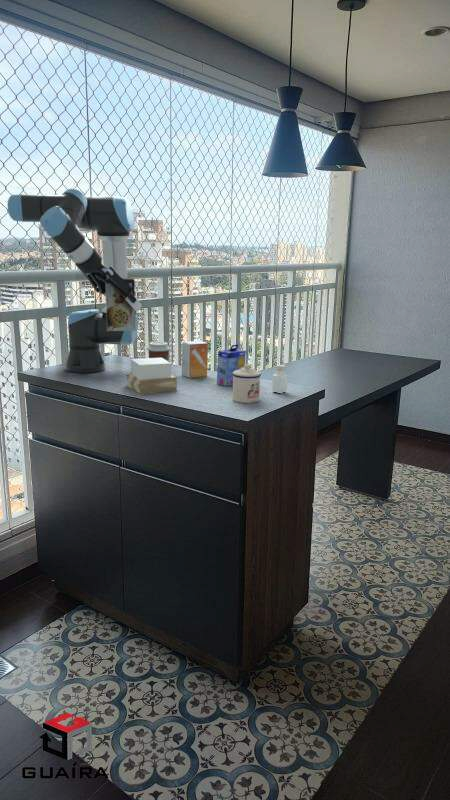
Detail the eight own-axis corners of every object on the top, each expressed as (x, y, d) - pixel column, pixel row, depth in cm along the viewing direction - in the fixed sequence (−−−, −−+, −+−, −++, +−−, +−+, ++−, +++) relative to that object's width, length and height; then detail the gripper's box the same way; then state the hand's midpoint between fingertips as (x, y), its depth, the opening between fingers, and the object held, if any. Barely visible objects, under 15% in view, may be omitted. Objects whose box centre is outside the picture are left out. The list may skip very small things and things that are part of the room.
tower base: (127, 387, 196) (126, 373, 195) (161, 383, 202) (160, 370, 201) (141, 395, 185) (141, 380, 184) (176, 391, 192) (176, 377, 190)
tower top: (131, 373, 195) (131, 359, 194) (161, 371, 199) (161, 357, 198) (139, 379, 185) (139, 365, 184) (171, 377, 189) (171, 363, 188)
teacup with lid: (251, 405, 175) (252, 368, 172) (226, 400, 179) (227, 365, 176) (268, 397, 185) (270, 363, 182) (244, 393, 189) (246, 359, 186)
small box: (189, 378, 210) (189, 344, 207) (181, 375, 215) (181, 341, 212) (207, 376, 214) (208, 342, 211) (199, 373, 220) (199, 340, 216)
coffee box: (135, 328, 182) (134, 278, 178) (135, 331, 176) (135, 279, 172) (106, 328, 180) (105, 277, 176) (106, 331, 174) (105, 278, 170)
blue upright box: (227, 386, 198) (228, 346, 195) (215, 384, 202) (216, 344, 198) (245, 382, 206) (246, 343, 202) (234, 380, 209) (235, 341, 206)
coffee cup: (171, 371, 221) (171, 341, 218) (168, 376, 212) (168, 345, 209) (148, 370, 221) (148, 340, 218) (145, 375, 212) (144, 344, 209)
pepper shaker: (280, 394, 189) (282, 367, 187) (271, 392, 192) (272, 365, 190) (287, 392, 192) (288, 365, 190) (277, 390, 195) (279, 363, 193)
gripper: (56, 263, 170) (101, 312, 185) (98, 266, 155) (144, 319, 170) (71, 246, 172) (114, 296, 187) (114, 246, 157) (157, 301, 172)
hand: (128, 307), depth 178 cm, fingers closed on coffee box, 10 cm apart
